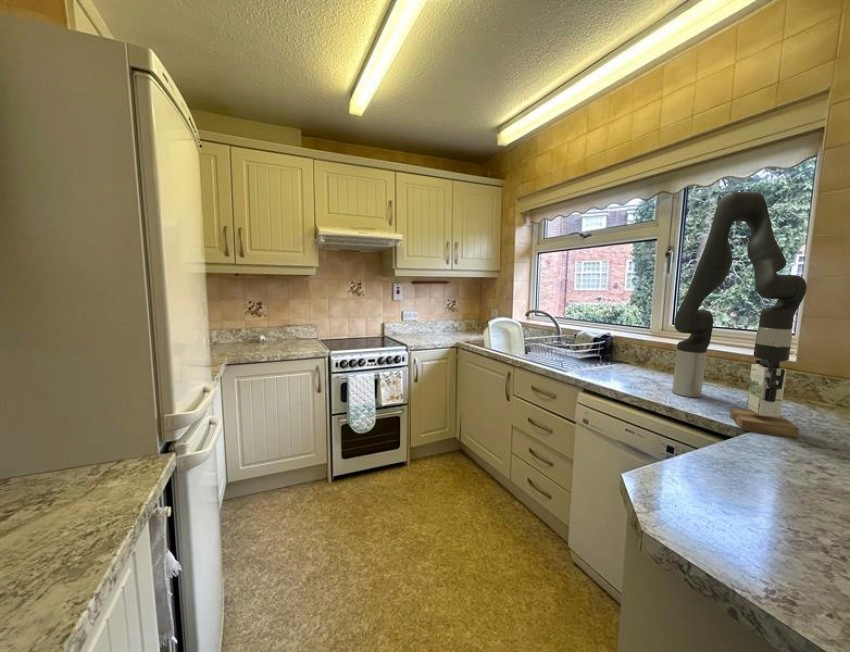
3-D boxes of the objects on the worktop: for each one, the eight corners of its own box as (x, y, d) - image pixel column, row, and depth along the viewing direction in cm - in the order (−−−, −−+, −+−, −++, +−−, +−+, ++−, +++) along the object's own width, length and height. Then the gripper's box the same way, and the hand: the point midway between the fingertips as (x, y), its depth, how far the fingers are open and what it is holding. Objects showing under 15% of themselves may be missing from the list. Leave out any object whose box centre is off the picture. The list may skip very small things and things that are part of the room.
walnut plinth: (729, 416, 115) (730, 407, 115) (779, 424, 110) (780, 414, 109) (741, 430, 105) (743, 420, 104) (797, 438, 99) (798, 428, 99)
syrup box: (781, 417, 103) (788, 368, 102) (757, 415, 105) (764, 367, 103) (767, 410, 109) (773, 364, 107) (744, 408, 110) (751, 363, 108)
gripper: (747, 338, 112) (740, 389, 114) (765, 345, 99) (757, 402, 102) (779, 341, 109) (771, 393, 111) (801, 348, 96) (792, 407, 98)
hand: (764, 397), depth 106 cm, fingers closed on syrup box, 6 cm apart
